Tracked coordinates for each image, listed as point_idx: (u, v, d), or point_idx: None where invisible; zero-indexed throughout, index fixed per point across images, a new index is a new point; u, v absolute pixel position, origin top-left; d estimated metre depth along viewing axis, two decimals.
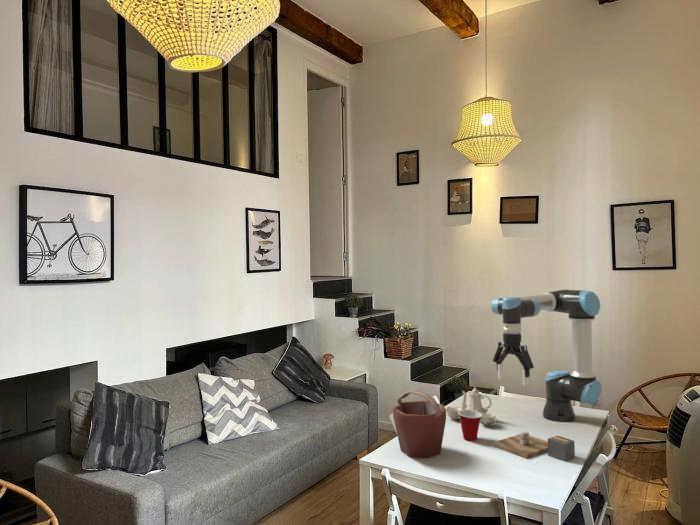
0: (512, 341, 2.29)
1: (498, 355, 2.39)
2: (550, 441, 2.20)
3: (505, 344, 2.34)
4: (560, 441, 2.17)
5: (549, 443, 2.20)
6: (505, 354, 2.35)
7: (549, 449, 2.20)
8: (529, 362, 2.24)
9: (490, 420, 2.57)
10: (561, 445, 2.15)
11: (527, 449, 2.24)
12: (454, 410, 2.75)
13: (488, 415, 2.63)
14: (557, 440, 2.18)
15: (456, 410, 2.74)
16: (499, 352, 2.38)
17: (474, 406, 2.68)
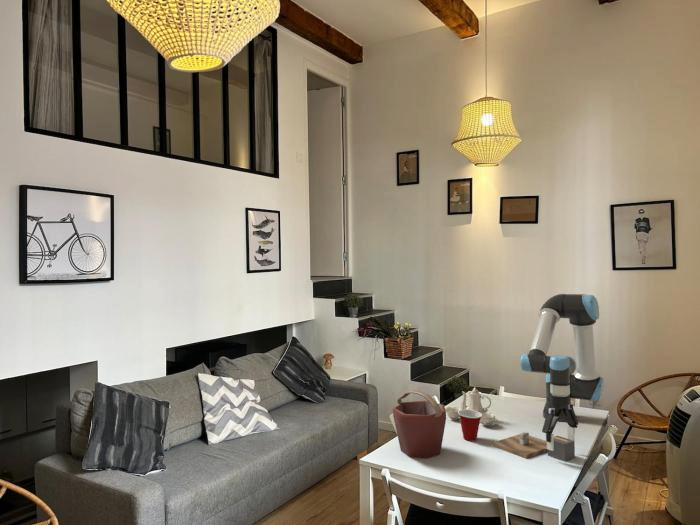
0: (550, 401, 2.20)
1: (571, 417, 2.23)
2: None
3: None
4: (560, 441, 2.17)
5: None
6: (564, 416, 2.21)
7: None
8: (545, 426, 2.14)
9: (490, 420, 2.57)
10: (561, 445, 2.15)
11: (527, 449, 2.24)
12: (454, 410, 2.74)
13: (488, 415, 2.63)
14: (557, 440, 2.18)
15: (456, 410, 2.74)
16: (570, 414, 2.23)
17: (474, 406, 2.68)
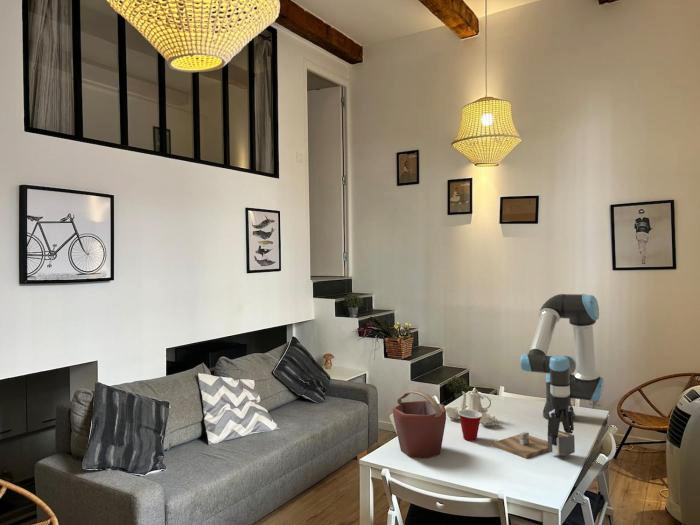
0: (550, 402, 2.20)
1: None
2: (550, 436, 2.20)
3: None
4: (560, 436, 2.17)
5: (549, 438, 2.20)
6: (562, 418, 2.21)
7: (549, 444, 2.20)
8: (549, 430, 2.16)
9: (490, 420, 2.57)
10: (561, 440, 2.15)
11: (527, 449, 2.24)
12: (454, 410, 2.74)
13: (488, 415, 2.63)
14: None
15: (456, 410, 2.74)
16: (567, 417, 2.22)
17: (474, 406, 2.68)
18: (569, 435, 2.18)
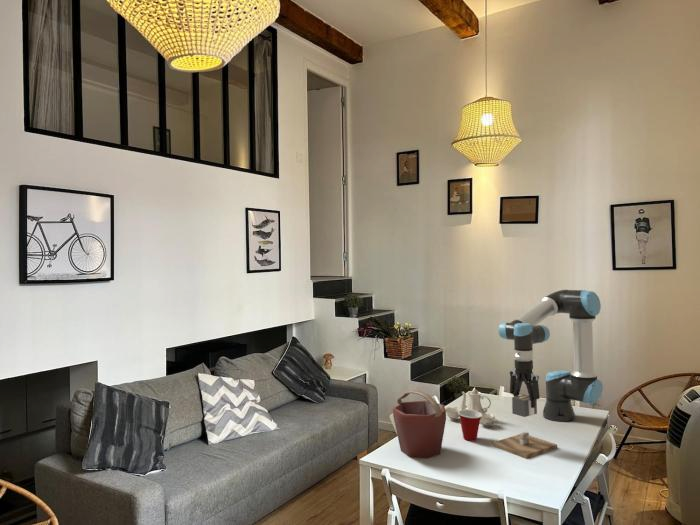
0: (524, 368, 2.27)
1: (513, 385, 2.35)
2: (526, 401, 2.26)
3: (516, 371, 2.32)
4: (529, 397, 2.29)
5: (525, 404, 2.26)
6: (519, 383, 2.32)
7: (525, 410, 2.26)
8: (536, 393, 2.24)
9: (489, 420, 2.57)
10: None
11: (527, 449, 2.24)
12: (453, 410, 2.74)
13: (488, 415, 2.63)
14: (527, 398, 2.29)
15: (455, 410, 2.74)
16: (513, 382, 2.35)
17: (473, 406, 2.67)
18: (525, 395, 2.33)
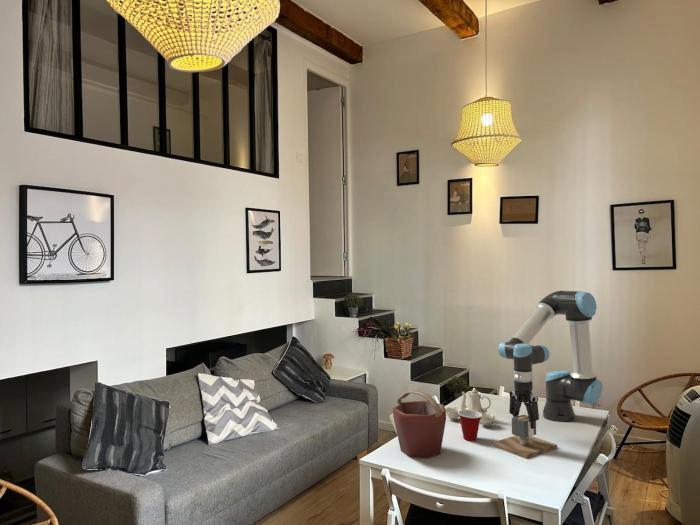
0: (523, 389, 2.27)
1: (513, 406, 2.35)
2: (525, 422, 2.27)
3: (516, 391, 2.32)
4: None
5: (525, 425, 2.26)
6: (519, 403, 2.32)
7: (525, 431, 2.27)
8: (536, 414, 2.25)
9: (489, 420, 2.56)
10: None
11: (527, 449, 2.24)
12: (453, 410, 2.74)
13: (488, 415, 2.63)
14: (526, 419, 2.29)
15: (455, 410, 2.74)
16: (513, 402, 2.35)
17: (473, 406, 2.67)
18: (525, 415, 2.34)
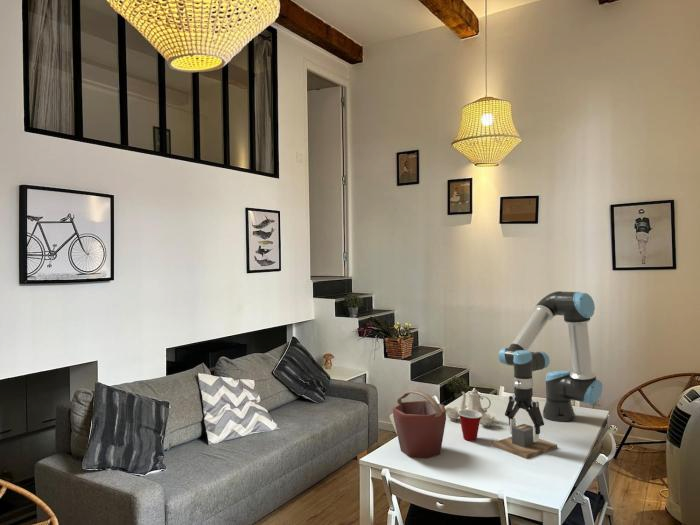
0: (523, 396, 2.27)
1: (510, 409, 2.37)
2: (526, 432, 2.27)
3: (516, 398, 2.32)
4: (529, 428, 2.30)
5: (525, 434, 2.27)
6: (517, 408, 2.33)
7: (525, 440, 2.27)
8: (540, 419, 2.23)
9: (489, 421, 2.56)
10: None
11: (527, 449, 2.24)
12: (453, 410, 2.74)
13: (488, 415, 2.63)
14: (527, 428, 2.29)
15: (455, 410, 2.73)
16: (511, 406, 2.36)
17: (473, 407, 2.67)
18: (525, 425, 2.34)
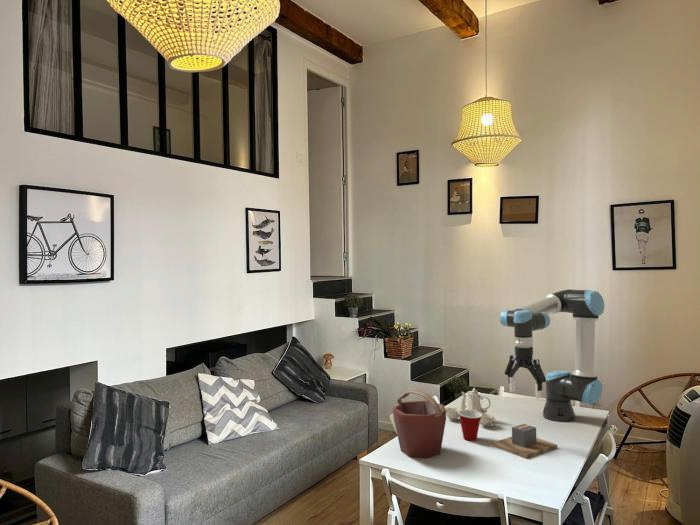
0: (524, 355, 2.29)
1: (510, 368, 2.39)
2: (526, 432, 2.27)
3: (517, 357, 2.35)
4: (529, 428, 2.30)
5: (525, 434, 2.27)
6: (517, 367, 2.36)
7: (525, 440, 2.27)
8: (542, 376, 2.25)
9: (489, 421, 2.56)
10: (534, 430, 2.30)
11: (527, 449, 2.24)
12: (453, 411, 2.74)
13: (487, 415, 2.62)
14: (527, 428, 2.29)
15: (455, 411, 2.73)
16: (511, 365, 2.39)
17: (473, 407, 2.67)
18: (525, 425, 2.34)
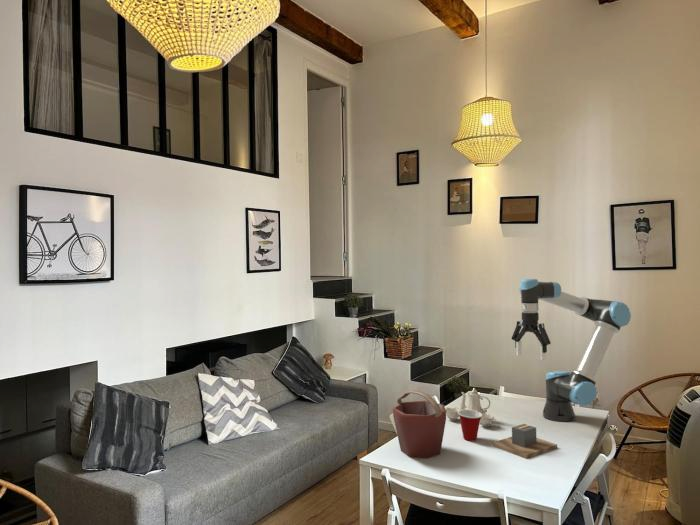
0: (530, 319, 2.46)
1: (516, 333, 2.56)
2: (526, 432, 2.27)
3: (523, 323, 2.51)
4: (529, 428, 2.30)
5: (525, 434, 2.27)
6: (523, 332, 2.52)
7: (525, 440, 2.27)
8: (546, 338, 2.42)
9: (489, 421, 2.56)
10: (534, 430, 2.30)
11: (527, 449, 2.24)
12: (453, 411, 2.73)
13: (487, 415, 2.62)
14: (527, 428, 2.29)
15: (455, 411, 2.73)
16: (517, 330, 2.55)
17: (473, 407, 2.67)
18: (525, 425, 2.34)
